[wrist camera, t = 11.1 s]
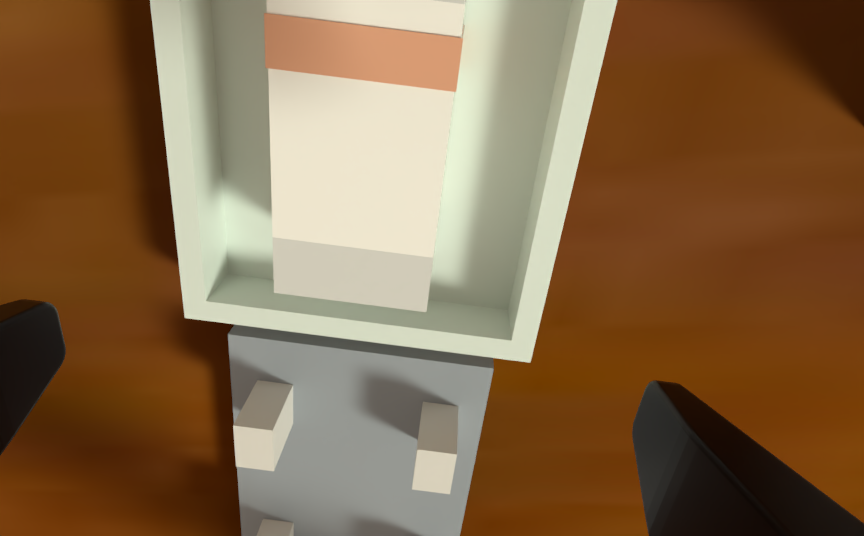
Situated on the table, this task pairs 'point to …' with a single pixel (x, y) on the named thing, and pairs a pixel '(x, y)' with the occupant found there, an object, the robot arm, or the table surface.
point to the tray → (462, 187)
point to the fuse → (359, 144)
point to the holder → (352, 434)
